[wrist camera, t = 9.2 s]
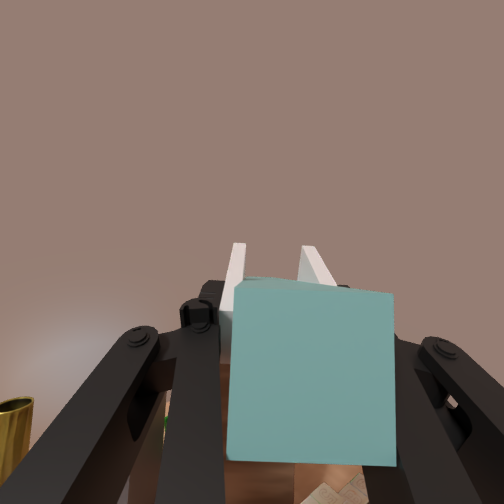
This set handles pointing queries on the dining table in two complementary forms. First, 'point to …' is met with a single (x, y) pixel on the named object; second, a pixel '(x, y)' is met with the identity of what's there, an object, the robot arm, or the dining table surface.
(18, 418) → the vase
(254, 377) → the bar
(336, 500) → the stack of blocks
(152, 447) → the step
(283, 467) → the stand
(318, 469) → the dining table surface
